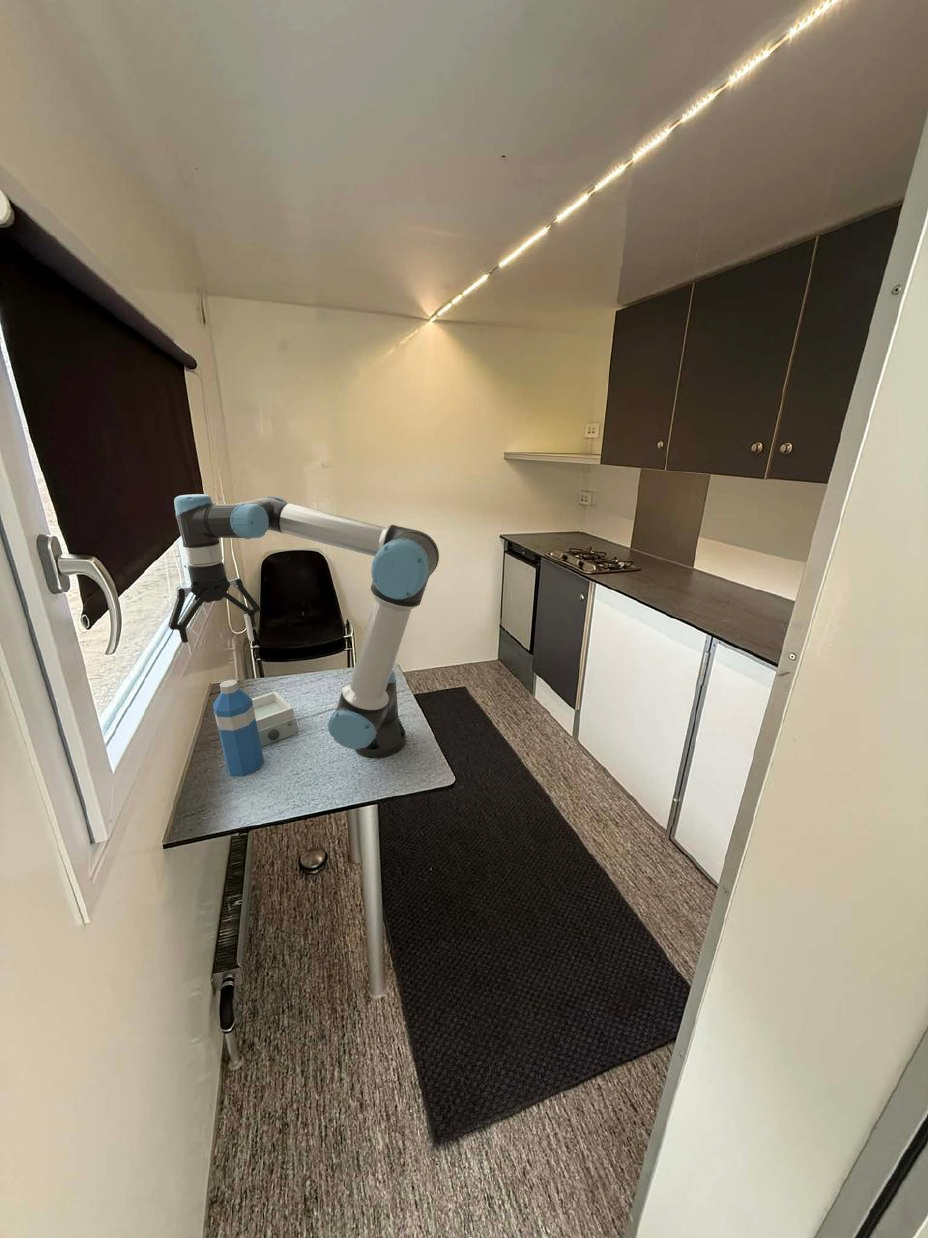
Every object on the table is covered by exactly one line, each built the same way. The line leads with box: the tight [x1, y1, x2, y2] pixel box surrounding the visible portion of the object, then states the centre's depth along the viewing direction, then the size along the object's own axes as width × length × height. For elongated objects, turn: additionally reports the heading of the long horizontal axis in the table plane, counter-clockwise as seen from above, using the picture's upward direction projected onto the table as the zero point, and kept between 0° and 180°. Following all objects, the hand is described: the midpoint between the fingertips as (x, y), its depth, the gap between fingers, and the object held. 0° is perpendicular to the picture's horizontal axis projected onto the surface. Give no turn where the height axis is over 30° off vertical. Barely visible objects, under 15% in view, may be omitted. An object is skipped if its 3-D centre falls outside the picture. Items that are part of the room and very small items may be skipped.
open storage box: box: [251, 690, 299, 748], centre depth 144 cm, size 17×14×8 cm
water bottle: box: [212, 679, 265, 777], centre depth 125 cm, size 9×9×25 cm
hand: (222, 646), depth 118 cm, fingers open, 13 cm apart
